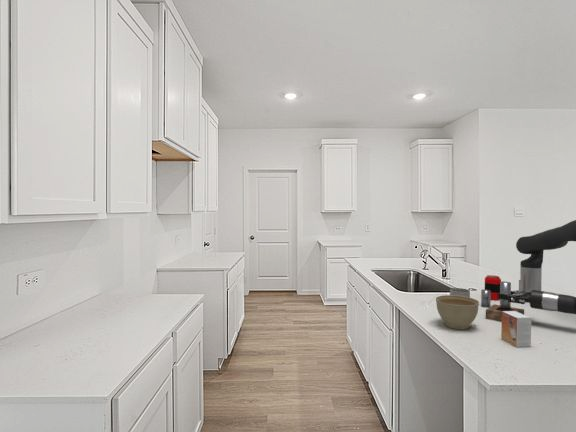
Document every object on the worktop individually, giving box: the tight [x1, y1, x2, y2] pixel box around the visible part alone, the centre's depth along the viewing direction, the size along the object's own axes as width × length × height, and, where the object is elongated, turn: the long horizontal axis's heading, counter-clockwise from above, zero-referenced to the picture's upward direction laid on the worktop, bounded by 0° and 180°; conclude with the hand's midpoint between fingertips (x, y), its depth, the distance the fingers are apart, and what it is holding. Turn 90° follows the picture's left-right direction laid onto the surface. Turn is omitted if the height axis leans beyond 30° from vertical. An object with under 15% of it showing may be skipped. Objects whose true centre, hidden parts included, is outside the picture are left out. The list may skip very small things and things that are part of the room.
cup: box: [449, 287, 471, 298], centre depth 168 cm, size 8×8×10 cm
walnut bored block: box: [485, 303, 525, 323], centre depth 156 cm, size 12×12×4 cm
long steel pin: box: [499, 280, 512, 311], centre depth 156 cm, size 4×4×16 cm
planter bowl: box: [435, 294, 480, 330], centre depth 147 cm, size 16×16×11 cm
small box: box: [500, 311, 532, 348], centre depth 129 cm, size 8×6×10 cm
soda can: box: [484, 274, 502, 301], centre depth 190 cm, size 8×8×12 cm
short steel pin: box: [480, 288, 492, 309], centre depth 175 cm, size 4×4×8 cm
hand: (500, 294), depth 157 cm, fingers open, 8 cm apart
